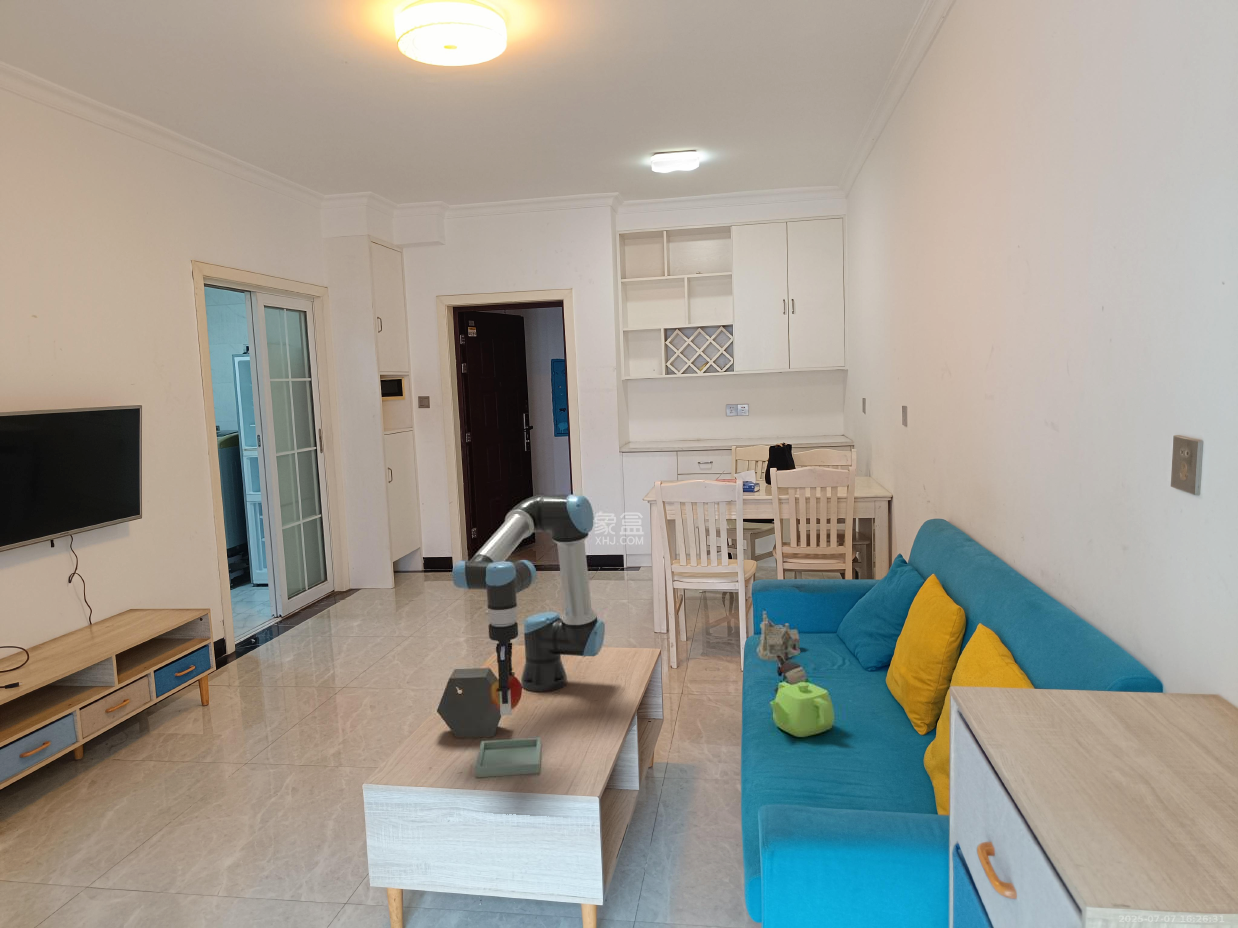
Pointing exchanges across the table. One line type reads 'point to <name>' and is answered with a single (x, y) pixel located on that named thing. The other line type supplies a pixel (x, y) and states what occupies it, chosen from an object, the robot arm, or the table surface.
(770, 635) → the ceramic cottage
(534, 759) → the dish
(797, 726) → the teapot
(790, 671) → the figurine
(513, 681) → the apple
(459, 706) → the grey hexagonal block
